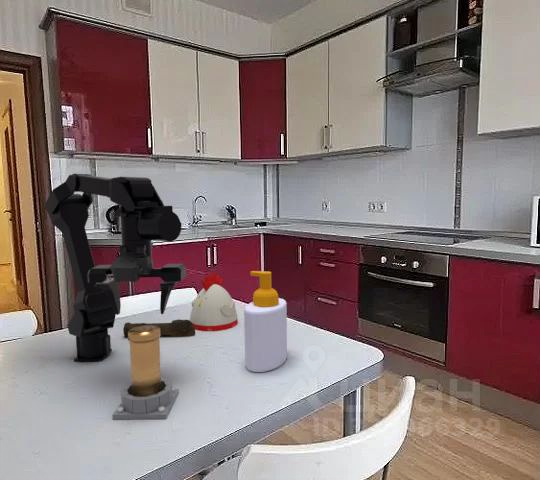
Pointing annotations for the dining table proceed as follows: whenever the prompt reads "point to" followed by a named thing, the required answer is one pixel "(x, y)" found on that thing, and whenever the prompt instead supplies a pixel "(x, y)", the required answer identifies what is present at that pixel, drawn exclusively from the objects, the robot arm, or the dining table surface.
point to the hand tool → (167, 328)
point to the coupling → (145, 360)
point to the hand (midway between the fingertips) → (140, 313)
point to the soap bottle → (265, 327)
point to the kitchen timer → (213, 307)
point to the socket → (146, 403)
